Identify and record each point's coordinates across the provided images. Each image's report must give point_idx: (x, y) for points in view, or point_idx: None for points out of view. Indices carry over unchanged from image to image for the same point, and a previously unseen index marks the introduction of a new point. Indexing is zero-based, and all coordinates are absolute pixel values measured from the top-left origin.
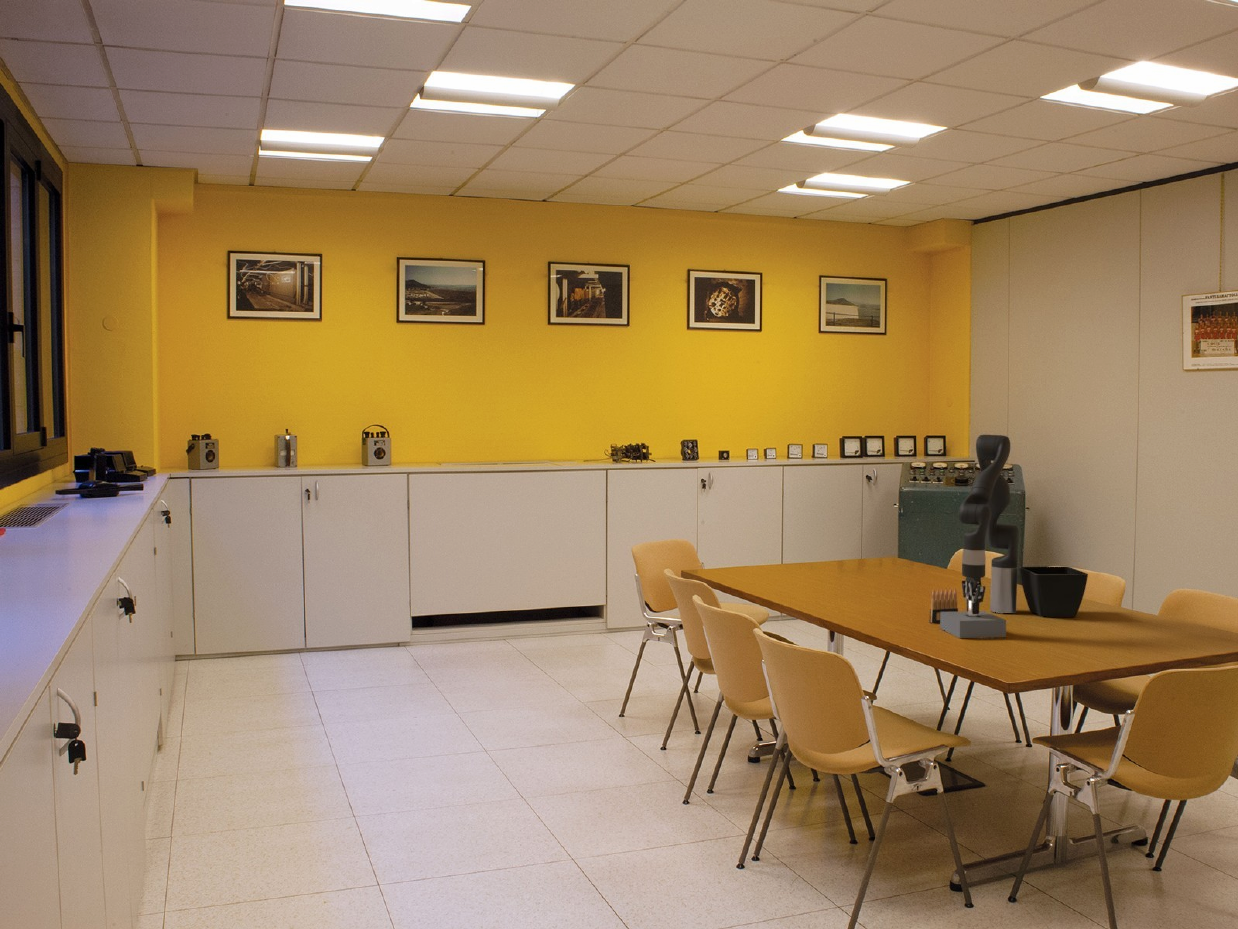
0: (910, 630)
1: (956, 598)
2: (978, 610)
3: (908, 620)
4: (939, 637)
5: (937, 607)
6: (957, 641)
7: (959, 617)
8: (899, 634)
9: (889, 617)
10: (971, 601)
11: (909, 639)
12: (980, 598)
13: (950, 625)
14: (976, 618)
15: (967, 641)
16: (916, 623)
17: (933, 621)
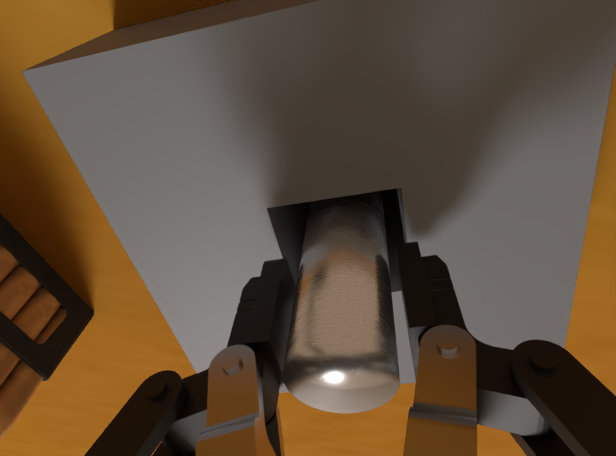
0: (299, 411)
1: None
2: (449, 275)
3: (56, 380)
4: None
5: (9, 369)
6: (580, 300)
7: None
8: (391, 450)
9: (26, 421)
10: (387, 394)
11: (495, 442)
12: (549, 405)
13: None
14: (474, 250)
15: (594, 254)
16: (118, 367)
17: (83, 318)
